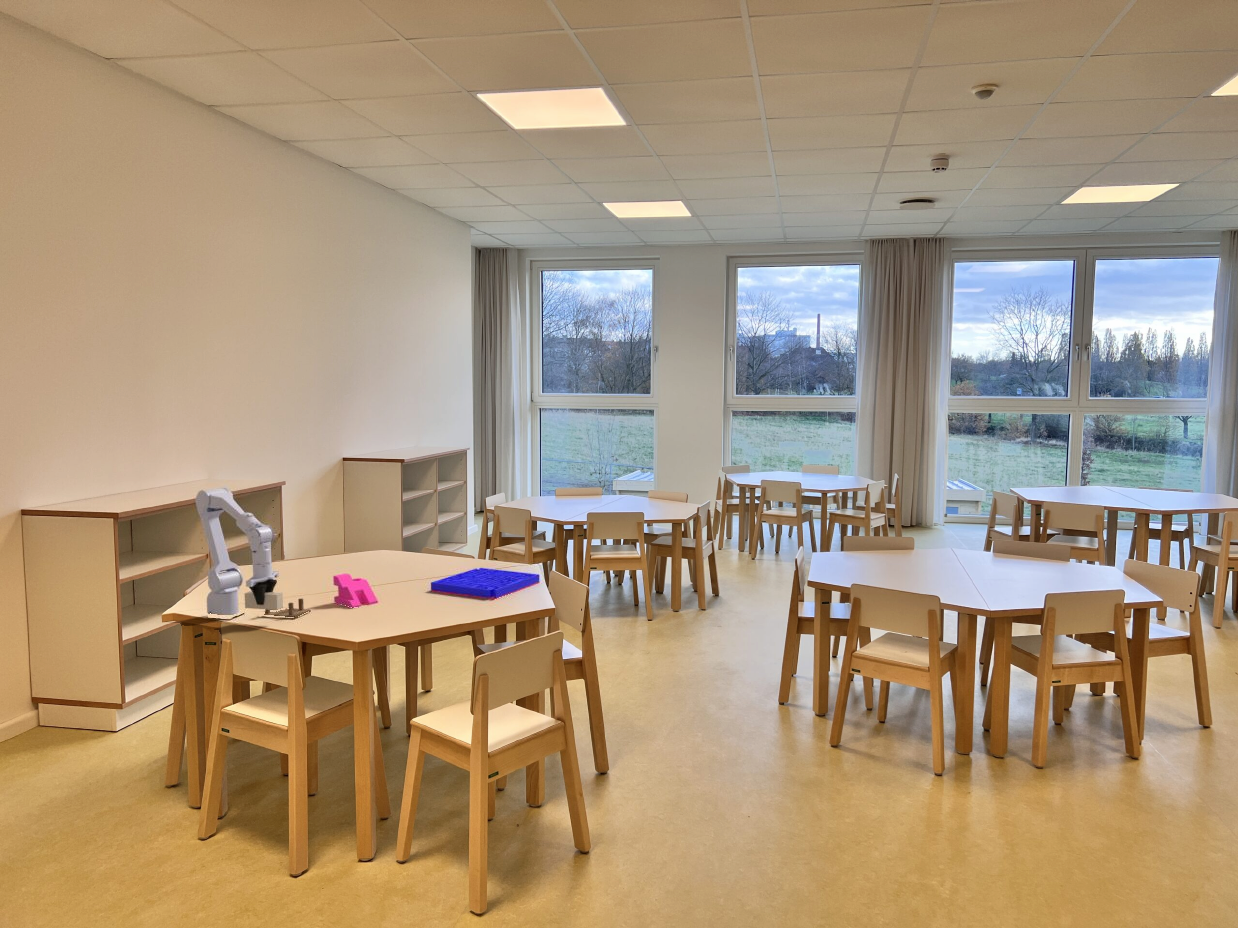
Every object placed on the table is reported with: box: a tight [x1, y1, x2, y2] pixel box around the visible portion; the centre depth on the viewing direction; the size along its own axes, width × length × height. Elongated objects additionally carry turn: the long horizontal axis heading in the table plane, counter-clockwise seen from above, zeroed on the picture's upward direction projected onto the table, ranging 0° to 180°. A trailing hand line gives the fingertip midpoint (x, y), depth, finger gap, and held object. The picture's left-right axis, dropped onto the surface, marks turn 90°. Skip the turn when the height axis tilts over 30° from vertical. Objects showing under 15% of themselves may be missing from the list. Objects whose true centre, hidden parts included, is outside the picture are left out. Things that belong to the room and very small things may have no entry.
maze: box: [430, 567, 540, 600], centre depth 324 cm, size 30×30×4 cm
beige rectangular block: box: [243, 590, 284, 610], centre depth 274 cm, size 12×3×5 cm, turn 78°
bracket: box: [332, 573, 379, 609], centre depth 300 cm, size 12×10×10 cm
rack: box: [264, 598, 311, 619], centre depth 286 cm, size 14×9×5 cm, turn 78°
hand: (263, 603), depth 274 cm, fingers closed on beige rectangular block, 3 cm apart
